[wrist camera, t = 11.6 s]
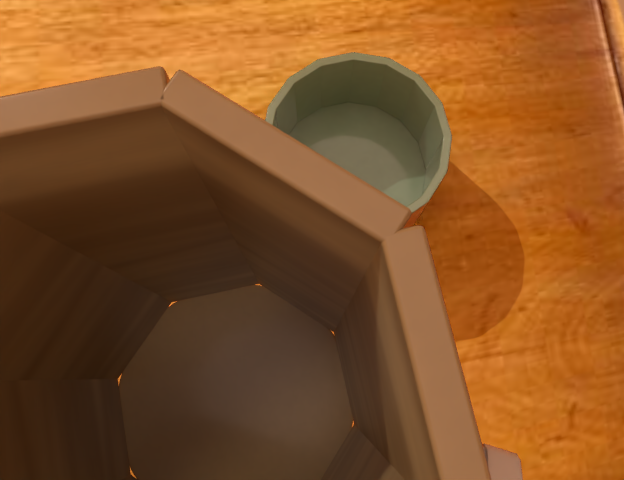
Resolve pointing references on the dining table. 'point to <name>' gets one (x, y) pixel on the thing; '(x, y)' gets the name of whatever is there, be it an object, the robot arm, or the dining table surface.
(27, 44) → the dining table surface
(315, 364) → the octagonal wooden container
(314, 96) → the gray bowl
